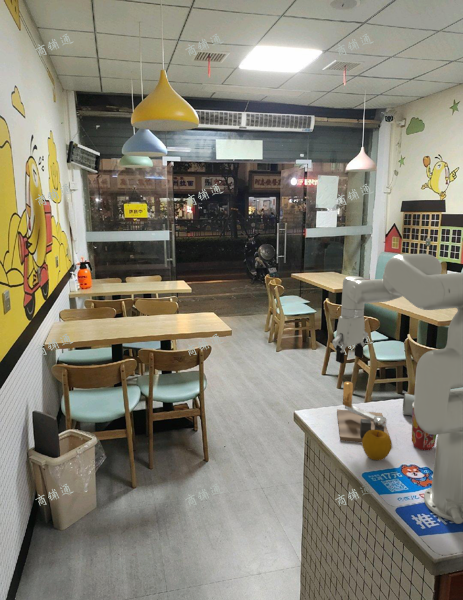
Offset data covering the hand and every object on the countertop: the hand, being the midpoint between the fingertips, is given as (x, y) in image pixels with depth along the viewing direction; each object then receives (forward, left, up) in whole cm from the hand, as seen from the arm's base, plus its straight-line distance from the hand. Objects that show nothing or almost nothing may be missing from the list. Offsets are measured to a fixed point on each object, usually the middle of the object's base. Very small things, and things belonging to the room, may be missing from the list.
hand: (349, 359), depth 151 cm
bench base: (-6, -5, -23) cm, 24 cm away
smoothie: (-14, -23, -23) cm, 36 cm away
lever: (-5, -5, -19) cm, 20 cm away
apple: (-24, -7, -23) cm, 34 cm away
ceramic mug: (+9, -25, -23) cm, 36 cm away
